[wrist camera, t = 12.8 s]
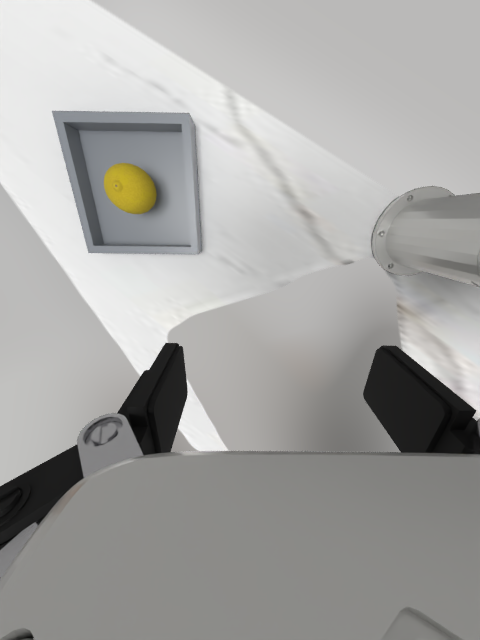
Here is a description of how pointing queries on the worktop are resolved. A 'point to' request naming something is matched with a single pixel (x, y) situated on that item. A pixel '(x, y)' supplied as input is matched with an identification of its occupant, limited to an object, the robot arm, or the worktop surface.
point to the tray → (150, 155)
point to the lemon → (130, 188)
